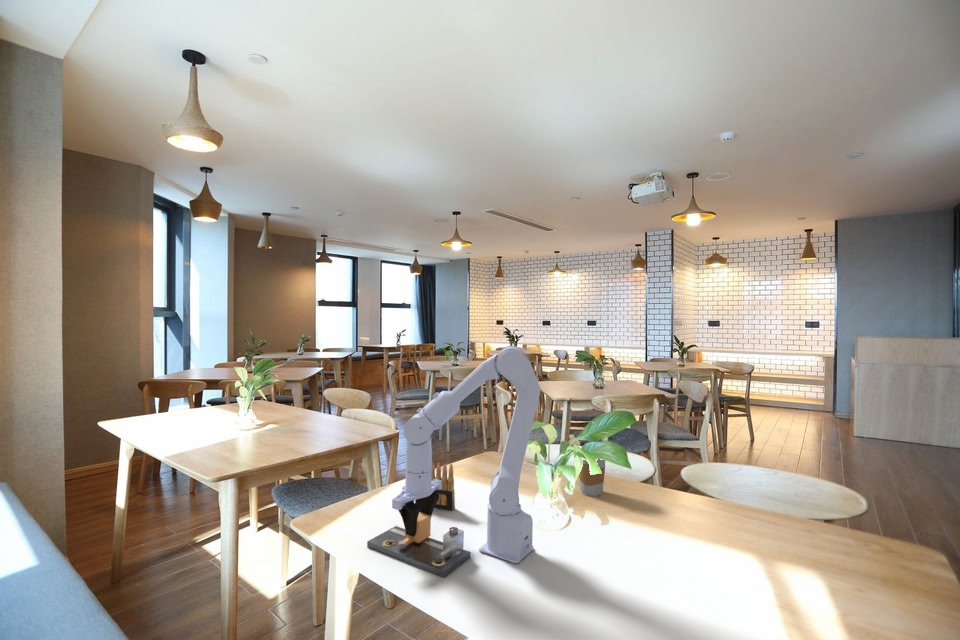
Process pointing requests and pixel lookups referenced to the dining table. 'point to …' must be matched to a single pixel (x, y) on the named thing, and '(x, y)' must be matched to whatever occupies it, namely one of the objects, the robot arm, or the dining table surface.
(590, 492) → the coffee cup
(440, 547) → the bolt plate
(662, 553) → the dining table surface
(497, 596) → the dining table surface
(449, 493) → the ammunition clip
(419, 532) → the orange block with rod
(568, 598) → the dining table surface
